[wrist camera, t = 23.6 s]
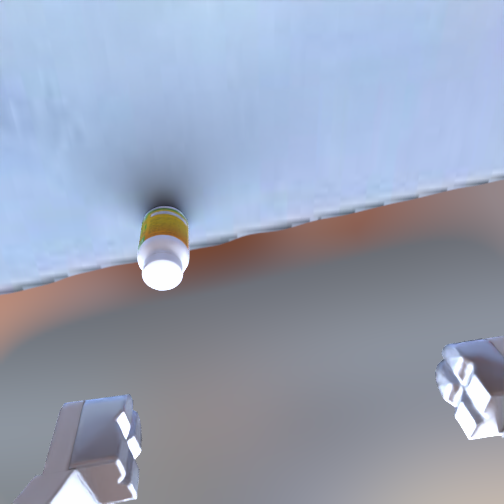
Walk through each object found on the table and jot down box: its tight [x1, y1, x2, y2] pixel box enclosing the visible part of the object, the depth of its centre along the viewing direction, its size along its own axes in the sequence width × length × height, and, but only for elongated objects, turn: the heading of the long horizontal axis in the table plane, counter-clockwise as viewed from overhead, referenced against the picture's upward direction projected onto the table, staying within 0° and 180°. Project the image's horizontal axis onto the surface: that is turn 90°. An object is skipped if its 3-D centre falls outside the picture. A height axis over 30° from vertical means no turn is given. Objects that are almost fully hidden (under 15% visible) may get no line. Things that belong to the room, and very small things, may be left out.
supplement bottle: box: [137, 206, 189, 290], centre depth 43 cm, size 5×5×10 cm
